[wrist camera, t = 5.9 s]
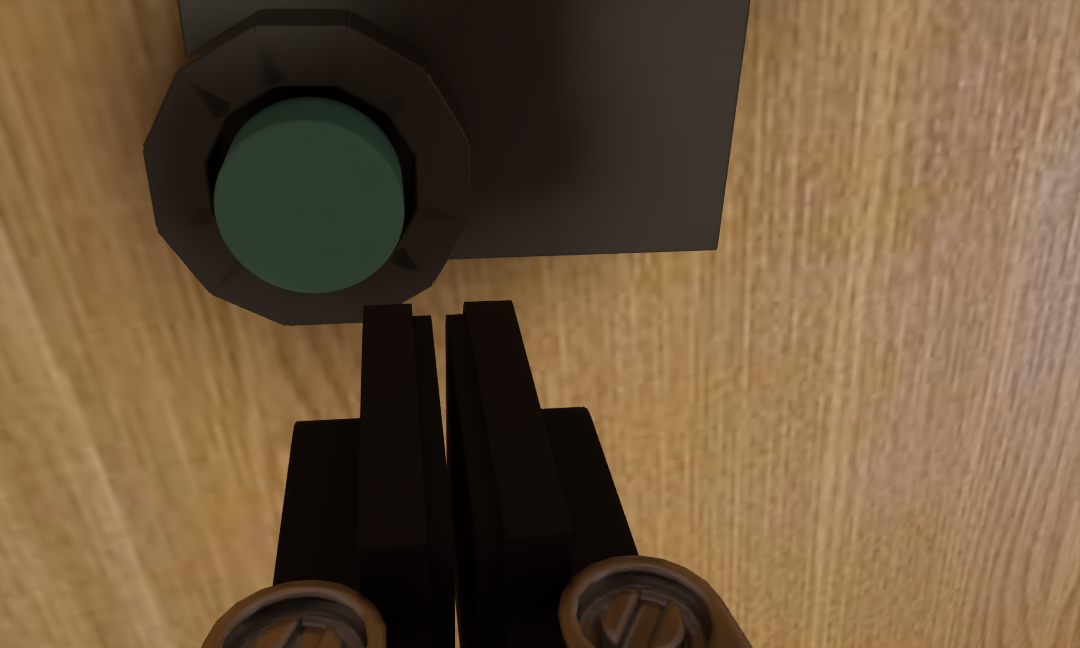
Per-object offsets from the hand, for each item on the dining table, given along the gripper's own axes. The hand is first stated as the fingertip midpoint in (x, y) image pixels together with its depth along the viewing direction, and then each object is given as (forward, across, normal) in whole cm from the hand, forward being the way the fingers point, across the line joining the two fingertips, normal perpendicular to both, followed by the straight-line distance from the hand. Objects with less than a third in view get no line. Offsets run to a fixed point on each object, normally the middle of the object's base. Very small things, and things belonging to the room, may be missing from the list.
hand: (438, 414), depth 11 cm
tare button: (+10, +2, +1) cm, 10 cm away
